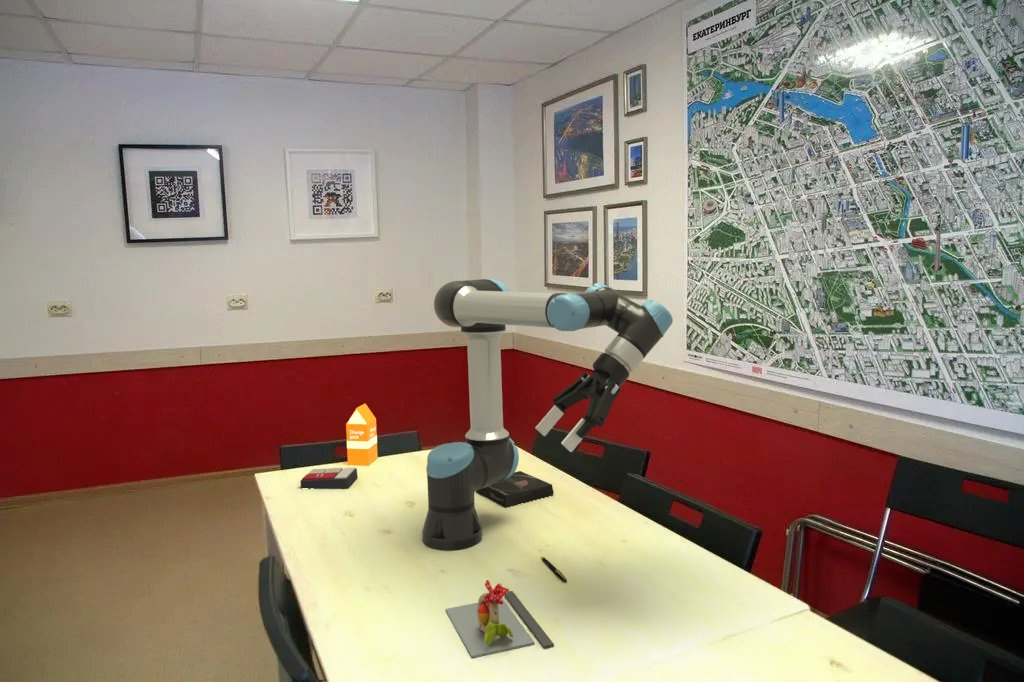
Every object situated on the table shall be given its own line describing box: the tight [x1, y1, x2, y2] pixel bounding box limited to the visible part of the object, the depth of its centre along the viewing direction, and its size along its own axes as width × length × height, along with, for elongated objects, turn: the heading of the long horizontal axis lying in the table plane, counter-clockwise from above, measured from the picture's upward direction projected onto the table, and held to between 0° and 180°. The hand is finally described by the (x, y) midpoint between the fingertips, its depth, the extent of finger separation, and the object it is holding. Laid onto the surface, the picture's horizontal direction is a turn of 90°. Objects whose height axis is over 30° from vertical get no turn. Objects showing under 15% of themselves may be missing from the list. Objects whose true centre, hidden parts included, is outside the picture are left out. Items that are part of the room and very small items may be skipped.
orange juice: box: [345, 403, 378, 467], centre depth 244 cm, size 8×9×20 cm
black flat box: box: [475, 470, 555, 509], centre depth 209 cm, size 16×17×4 cm
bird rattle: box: [477, 579, 513, 645], centre depth 130 cm, size 6×11×9 cm
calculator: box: [299, 467, 359, 490], centre depth 222 cm, size 11×4×15 cm
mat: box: [445, 590, 555, 659], centre depth 135 cm, size 22×15×1 cm
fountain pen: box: [540, 555, 568, 583], centre depth 158 cm, size 14×1×2 cm, turn 21°
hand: (552, 439), depth 145 cm, fingers open, 13 cm apart
